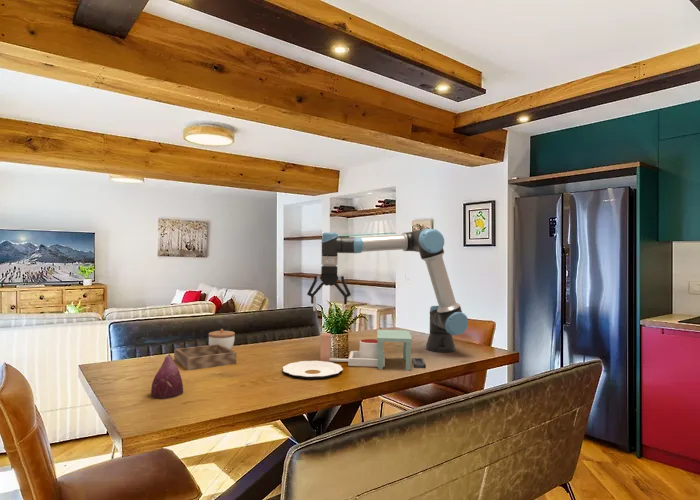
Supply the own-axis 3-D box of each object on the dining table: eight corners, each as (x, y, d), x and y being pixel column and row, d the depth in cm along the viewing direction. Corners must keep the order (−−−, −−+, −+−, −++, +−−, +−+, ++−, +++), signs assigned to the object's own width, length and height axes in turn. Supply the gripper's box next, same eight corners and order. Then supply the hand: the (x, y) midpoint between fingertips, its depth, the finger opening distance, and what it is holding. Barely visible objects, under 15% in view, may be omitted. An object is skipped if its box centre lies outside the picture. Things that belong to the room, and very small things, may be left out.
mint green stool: (376, 369, 197) (377, 337, 197) (376, 357, 218) (377, 329, 218) (411, 370, 196) (412, 339, 196) (408, 358, 217) (409, 330, 217)
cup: (378, 366, 202) (379, 343, 202) (357, 364, 205) (357, 342, 205) (383, 361, 212) (383, 339, 212) (362, 359, 214) (362, 338, 214)
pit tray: (414, 367, 201) (414, 364, 201) (412, 361, 213) (412, 357, 213) (425, 368, 200) (425, 364, 200) (423, 361, 212) (423, 358, 212)
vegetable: (157, 399, 163) (156, 356, 166) (187, 395, 163) (185, 352, 167) (146, 401, 152) (145, 355, 156) (177, 397, 153) (176, 351, 157)
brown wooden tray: (219, 354, 219) (219, 344, 219) (236, 363, 202) (236, 352, 202) (174, 360, 207) (174, 349, 207) (188, 370, 190) (188, 358, 190)
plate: (350, 368, 199) (350, 364, 199) (329, 383, 175) (329, 378, 175) (298, 362, 207) (298, 358, 207) (271, 376, 183) (271, 372, 183)
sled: (318, 364, 201) (319, 337, 201) (323, 356, 217) (323, 331, 217) (384, 366, 199) (385, 339, 199) (384, 358, 215) (384, 332, 215)
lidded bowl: (239, 350, 228) (240, 328, 228) (220, 355, 218) (220, 332, 218) (222, 347, 235) (222, 326, 235) (202, 351, 225) (203, 329, 225)
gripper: (301, 265, 210) (301, 311, 210) (355, 266, 209) (355, 312, 209) (304, 264, 218) (303, 309, 217) (356, 265, 216) (355, 310, 216)
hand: (328, 311), depth 213 cm, fingers open, 13 cm apart
